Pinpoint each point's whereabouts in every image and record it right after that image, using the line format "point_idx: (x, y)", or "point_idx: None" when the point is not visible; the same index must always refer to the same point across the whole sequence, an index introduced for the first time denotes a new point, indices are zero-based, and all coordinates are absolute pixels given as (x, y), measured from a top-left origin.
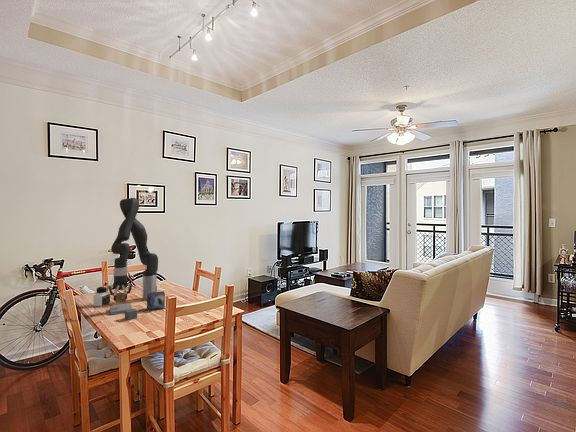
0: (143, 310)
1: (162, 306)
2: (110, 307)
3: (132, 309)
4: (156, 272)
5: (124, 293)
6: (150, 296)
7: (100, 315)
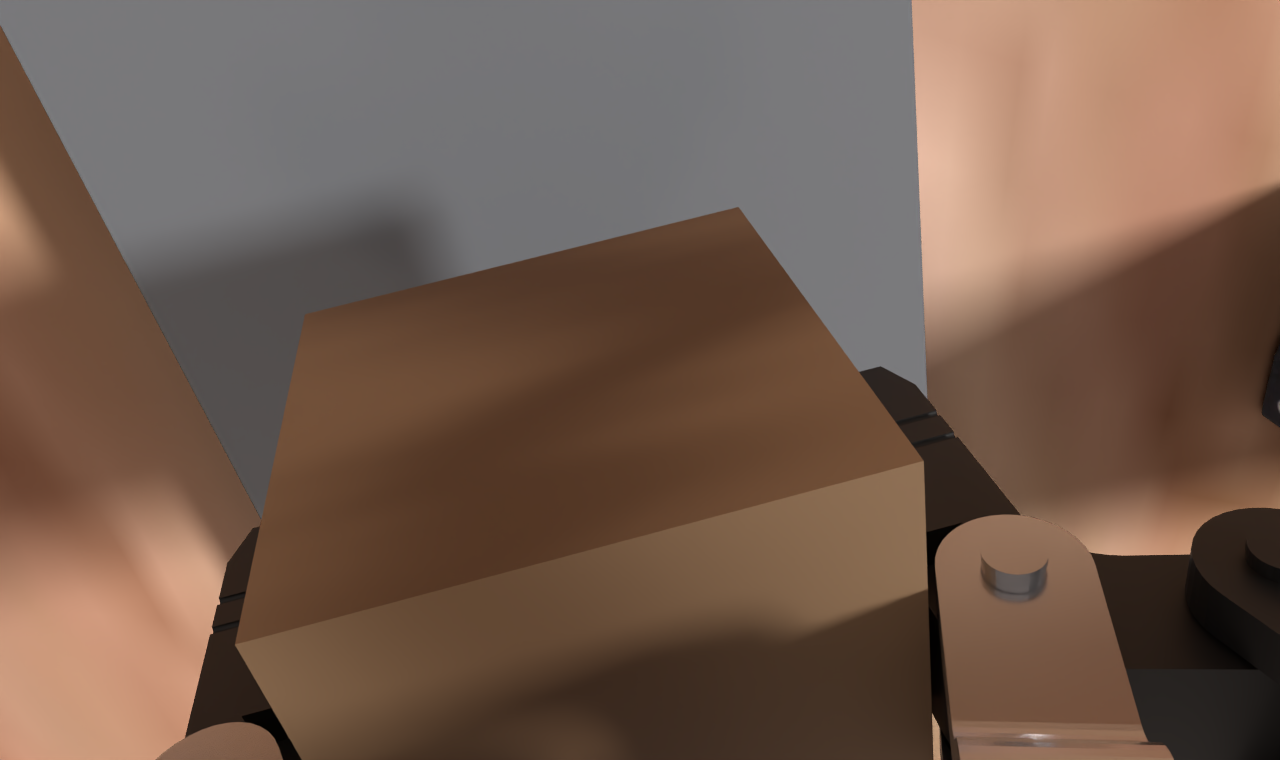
0: (1178, 351)
1: None
2: (104, 165)
3: None
4: None
5: (909, 720)
6: None
7: (17, 554)
